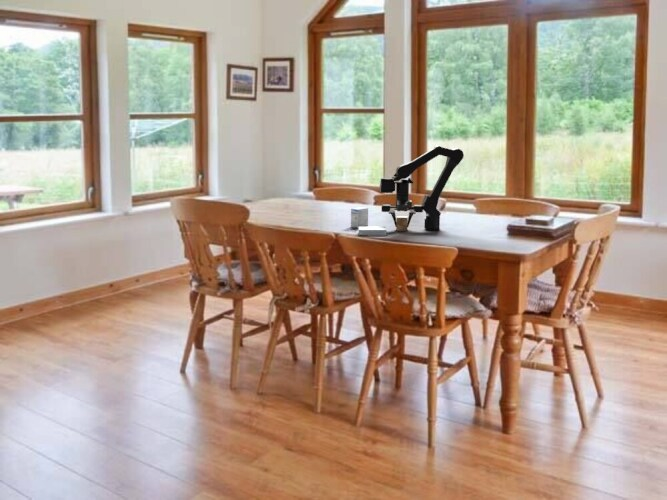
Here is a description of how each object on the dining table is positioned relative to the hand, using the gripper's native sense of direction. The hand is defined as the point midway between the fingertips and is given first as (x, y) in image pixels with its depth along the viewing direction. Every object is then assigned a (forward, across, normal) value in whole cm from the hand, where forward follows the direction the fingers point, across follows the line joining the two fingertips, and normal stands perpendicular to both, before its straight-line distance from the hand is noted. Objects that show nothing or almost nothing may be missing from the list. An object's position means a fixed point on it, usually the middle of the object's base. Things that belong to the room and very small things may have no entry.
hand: (401, 227), depth 351 cm
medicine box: (+2, -20, +8) cm, 22 cm away
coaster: (+1, -12, -1) cm, 12 cm away
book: (+2, -13, -13) cm, 18 cm away
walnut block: (+1, 0, 0) cm, 1 cm away
